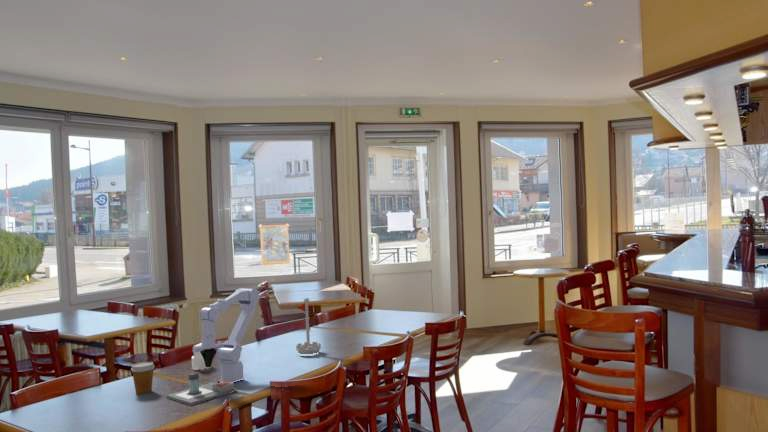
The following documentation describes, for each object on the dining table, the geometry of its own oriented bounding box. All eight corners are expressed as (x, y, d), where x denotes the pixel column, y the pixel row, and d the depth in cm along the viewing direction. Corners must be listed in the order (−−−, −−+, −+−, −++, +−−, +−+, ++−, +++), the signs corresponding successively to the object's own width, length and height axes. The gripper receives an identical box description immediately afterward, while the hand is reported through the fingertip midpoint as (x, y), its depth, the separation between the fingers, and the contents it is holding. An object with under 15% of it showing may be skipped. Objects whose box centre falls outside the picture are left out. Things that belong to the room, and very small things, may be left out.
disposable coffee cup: (132, 390, 256) (131, 363, 256) (155, 387, 260) (154, 360, 260) (131, 396, 248) (130, 368, 248) (155, 393, 251) (154, 365, 251)
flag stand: (323, 351, 317) (321, 295, 316) (318, 357, 304) (315, 299, 304) (299, 351, 318) (297, 296, 318) (293, 357, 305) (291, 300, 305)
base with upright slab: (205, 370, 285) (204, 346, 285) (188, 370, 287) (187, 346, 287) (214, 366, 294) (213, 342, 294) (197, 365, 296) (197, 342, 296)
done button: (224, 387, 251) (224, 380, 251) (229, 388, 249) (229, 382, 249) (216, 389, 248) (216, 383, 248) (221, 391, 246) (221, 384, 246)
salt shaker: (195, 390, 247) (195, 372, 247) (201, 392, 245) (200, 373, 245) (187, 393, 244) (186, 374, 244) (192, 395, 242) (191, 375, 242)
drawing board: (212, 384, 261) (212, 377, 261) (236, 391, 249) (236, 383, 249) (166, 398, 244) (166, 389, 244) (190, 405, 232) (190, 397, 232)
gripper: (216, 332, 262) (216, 363, 261) (188, 336, 251) (188, 368, 250) (226, 333, 258) (226, 364, 257) (198, 337, 246) (197, 370, 246)
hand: (208, 366), depth 253 cm, fingers closed
